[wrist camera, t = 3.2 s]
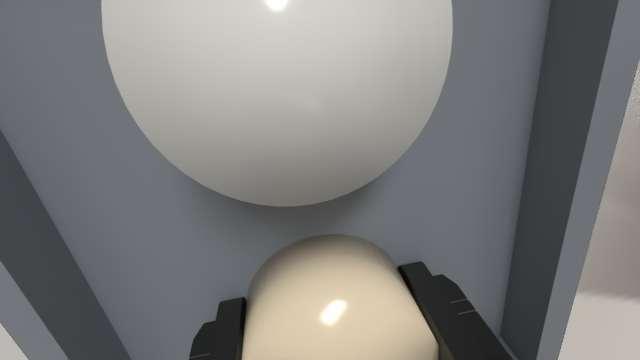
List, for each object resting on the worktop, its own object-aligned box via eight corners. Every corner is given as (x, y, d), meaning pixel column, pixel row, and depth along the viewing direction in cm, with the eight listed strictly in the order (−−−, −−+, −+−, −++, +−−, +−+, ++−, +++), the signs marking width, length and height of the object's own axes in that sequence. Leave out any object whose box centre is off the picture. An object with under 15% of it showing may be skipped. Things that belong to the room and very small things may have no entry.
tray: (-179, -165, 6) (-478, -297, 3) (592, -237, 7) (756, -373, 4) (152, 406, 13) (127, 487, 10) (503, 328, 14) (550, 386, 11)
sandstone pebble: (228, 252, 9) (214, 333, 7) (398, 219, 10) (443, 286, 7) (264, 366, 11) (262, 461, 9) (402, 337, 12) (438, 420, 9)
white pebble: (125, -77, 6) (24, -153, 4) (386, -106, 6) (462, -196, 4) (201, 169, 8) (172, 230, 6) (394, 136, 9) (447, 179, 6)
